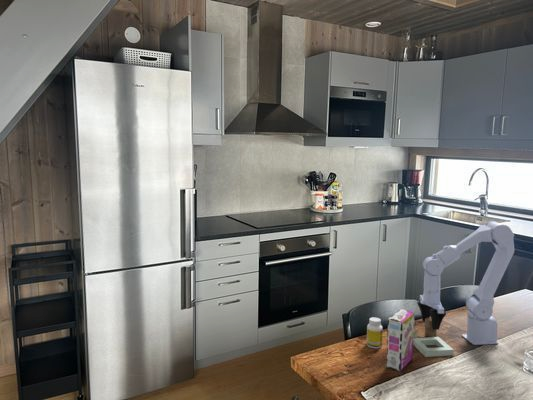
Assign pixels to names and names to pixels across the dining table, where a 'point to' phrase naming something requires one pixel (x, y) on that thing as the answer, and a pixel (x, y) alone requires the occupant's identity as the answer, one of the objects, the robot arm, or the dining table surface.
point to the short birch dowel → (415, 333)
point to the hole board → (429, 352)
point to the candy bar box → (400, 339)
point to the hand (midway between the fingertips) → (430, 325)
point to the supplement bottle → (374, 333)
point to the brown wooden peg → (429, 328)
